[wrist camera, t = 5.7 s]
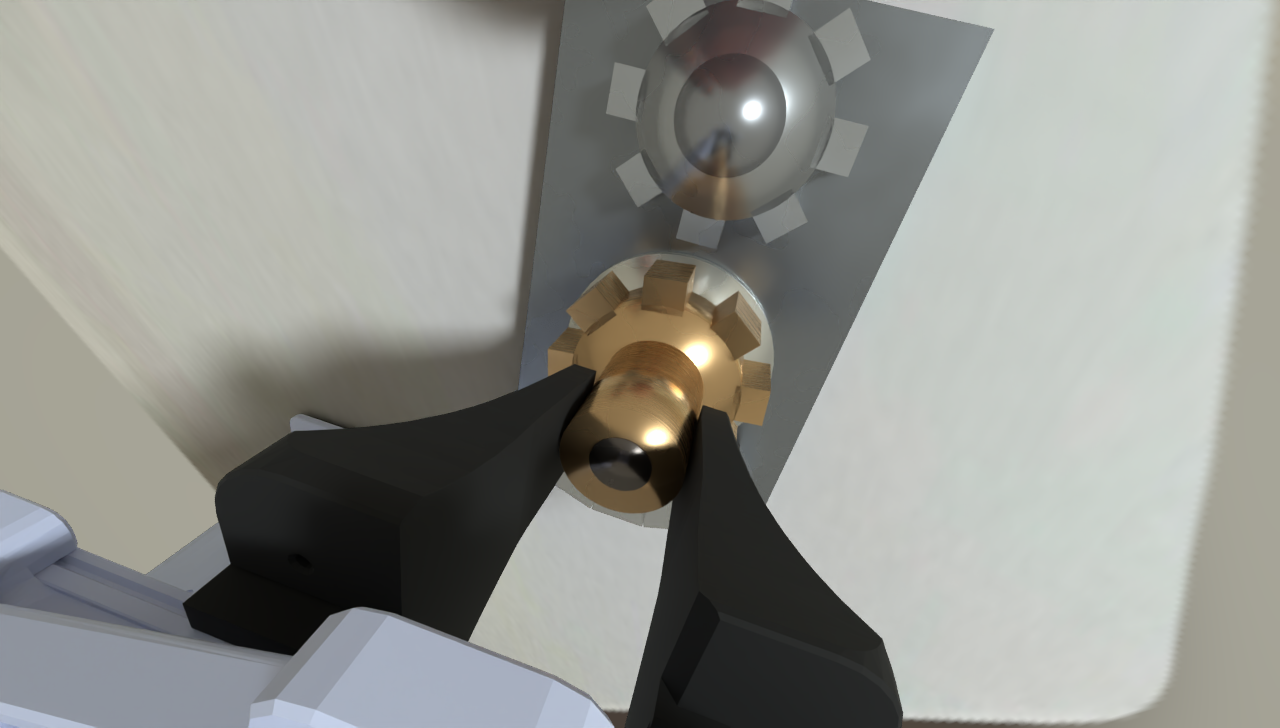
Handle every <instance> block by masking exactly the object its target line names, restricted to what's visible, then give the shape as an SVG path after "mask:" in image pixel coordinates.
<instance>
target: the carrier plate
mask: <svg viewBox="0 0 1280 728" xmlns="http://www.w3.org/2000/svg"><path fill="white" fill-rule="evenodd" d="M652 1H653V0H565V5H564V13H563V22H562V30H561V38H560V46H559V55H558V63H557V71H556V80H555V88H554V96H553V104H552V113H551V121H550V129H549V137H548V146H547V154H546V162H545V171H544V179H543V187H542V195H541V204H540V212H539V220H538V229H537V237H536V245H535V253H534V262H533V270H532V278H531V287H530V295H529V303H528V311H527V320H526V328H525V336H524V345H523V353H522V361H521V369H520V378H519V386H518V390H520V389H522V388H525V387H527V386H529V385H531V384H533V383H535V382H538V381H540V380H542V379H544V378H546V377H548V348H549V347H550V346H551V345H552V344H553V343H554V342H555V341H556V340H557V339H558V338H559V336H560V335H561V334H562V333H563V332H564V331H565V330H566V329H567V328H568V327H570V328H576V329H581V328H580V327H579V326H578V325H577V323H576V322H575V321H574V320H573V319H572V317H571V316H570V315H569V314H568V313H567V312H566V310H567V309H568V308H569V307H570V306H571V305H572V304H573V303H574V302H575V301H576V300H577V299H578V298H579V297H580V296H581V295H583V294H584V293H585V292H586V291H587V290H588V289H589V288H591V287H592V286H593V285H594V284H596V283H597V282H598V281H599V280H601V279H602V278H603V277H604V276H606V275H607V274H608V273H609V272H611V271H613V272H614V273H615V274H616V276H617V277H618V278H619V279H620V281H621V282H622V283H623V284H624V286H625V287H626V288H627V289H628V291H631V290H634V289H637V288H641V287H643V281H644V275H645V274H646V273H647V271H648V270H649V269H650V267H651V266H652V265H653V264H654V262H655V261H656V260H657V259H659V260H666V261H672V262H679V263H685V264H692V265H696V270H695V276H694V283H693V290H692V292H694V293H696V294H698V295H700V296H702V297H704V298H706V299H707V300H709V301H710V302H711V303H713V304H714V305H715V306H716V305H718V304H719V303H721V302H722V301H724V300H725V299H727V298H728V297H730V296H731V295H733V294H734V293H736V292H737V291H739V292H740V293H741V294H742V296H743V297H744V299H745V300H746V301H747V303H748V304H749V305H750V307H751V308H752V309H753V311H754V312H755V313H756V315H757V316H758V318H759V319H760V320H761V346H759V347H757V348H755V349H754V350H752V351H750V352H749V353H747V354H745V355H744V359H745V360H750V361H756V362H761V363H767V364H771V393H770V397H769V401H768V405H767V409H766V412H765V416H764V420H763V424H762V426H759V425H755V424H750V423H745V422H740V421H735V420H734V423H735V424H736V425H737V426H738V427H737V437H736V441H737V444H738V446H740V447H741V449H742V451H743V453H744V455H745V457H746V459H747V461H748V463H749V466H750V468H751V470H752V472H753V477H752V480H753V482H754V484H755V486H756V488H757V490H758V492H759V494H760V495H761V497H762V499H763V501H764V503H765V504H766V503H767V501H768V499H769V497H770V495H771V492H772V490H773V488H774V486H775V484H776V482H777V480H778V478H779V476H780V474H781V472H782V470H783V467H784V465H785V463H786V461H787V459H788V457H789V455H790V453H791V451H792V449H793V447H794V445H795V443H796V440H797V438H798V436H799V434H800V432H801V430H802V428H803V426H804V424H805V422H806V420H807V418H808V416H809V413H810V411H811V409H812V407H813V405H814V403H815V401H816V399H817V397H818V395H819V393H820V391H821V388H822V386H823V384H824V382H825V380H826V378H827V376H828V374H829V372H830V370H831V368H832V366H833V364H834V361H835V359H836V357H837V355H838V353H839V351H840V349H841V347H842V345H843V343H844V341H845V339H846V337H847V334H848V332H849V330H850V328H851V326H852V324H853V322H854V320H855V318H856V316H857V314H858V312H859V310H860V307H861V305H862V303H863V301H864V299H865V297H866V295H867V293H868V291H869V289H870V287H871V285H872V282H873V280H874V278H875V276H876V274H877V272H878V270H879V268H880V266H881V264H882V262H883V260H884V258H885V255H886V253H887V251H888V249H889V247H890V245H891V243H892V241H893V239H894V237H895V235H896V233H897V231H898V228H899V226H900V224H901V222H902V220H903V218H904V216H905V214H906V212H907V210H908V208H909V206H910V203H911V201H912V199H913V197H914V195H915V193H916V191H917V189H918V187H919V185H920V183H921V181H922V179H923V176H924V174H925V172H926V170H927V168H928V166H929V164H930V162H931V160H932V158H933V156H934V154H935V152H936V149H937V147H938V145H939V143H940V141H941V139H942V137H943V135H944V133H945V131H946V129H947V127H948V124H949V122H950V120H951V118H952V116H953V114H954V112H955V110H956V108H957V106H958V104H959V102H960V100H961V97H962V95H963V93H964V91H965V89H966V87H967V85H968V83H969V81H970V79H971V77H972V75H973V73H974V70H975V68H976V66H977V64H978V62H979V60H980V58H981V56H982V54H983V52H984V50H985V48H986V45H987V43H988V41H989V39H990V37H991V35H992V33H993V31H994V29H991V28H987V27H983V26H978V25H974V24H969V23H965V22H961V21H956V20H952V19H947V18H943V17H939V16H934V15H930V14H925V13H921V12H917V11H912V10H908V9H903V8H899V7H894V6H890V5H886V4H881V3H877V2H872V1H868V0H793V2H792V6H791V9H790V11H791V12H792V13H793V14H795V15H796V16H797V17H799V18H800V19H802V20H803V21H804V22H805V23H806V24H807V25H808V26H809V27H810V28H811V30H812V31H813V32H815V31H816V30H818V29H819V28H821V27H822V26H824V25H825V24H827V23H828V22H830V21H831V20H832V19H834V18H835V17H837V16H838V15H840V14H841V13H843V12H844V11H846V10H847V9H848V8H850V9H851V11H852V14H853V16H854V19H855V21H856V24H857V26H858V29H859V31H860V34H861V36H862V39H863V41H864V44H865V47H866V49H867V52H868V54H869V57H870V59H871V60H870V61H868V62H866V63H865V64H863V65H862V66H860V67H859V68H857V69H855V70H854V71H852V72H851V73H849V74H848V75H846V76H844V77H843V78H841V79H840V80H838V81H837V82H835V88H836V111H835V118H839V119H843V120H847V121H851V122H855V123H859V124H863V125H867V126H869V127H868V129H867V132H866V134H865V137H864V139H863V142H862V144H861V147H860V149H859V151H858V154H857V156H856V159H855V161H854V164H853V166H852V169H851V171H850V173H849V176H848V177H845V176H841V175H838V174H834V173H830V172H826V171H822V170H819V169H815V170H814V172H813V173H812V174H811V176H810V177H809V178H808V180H807V181H806V182H805V183H804V184H803V185H802V186H801V187H800V189H799V190H798V191H797V192H796V193H794V194H795V196H796V198H797V200H798V202H799V204H800V206H801V208H802V210H803V213H804V215H805V217H806V219H807V221H808V222H806V223H805V224H803V225H801V226H799V227H797V228H795V229H793V230H791V231H789V232H788V233H786V234H784V235H782V236H780V237H778V238H776V239H774V240H772V241H771V242H769V243H767V244H766V242H765V240H764V238H763V236H762V234H761V232H760V230H759V228H758V226H757V224H756V223H755V221H754V219H753V217H750V218H745V219H740V220H728V221H725V225H724V228H723V231H722V234H721V238H720V240H719V243H718V246H717V248H716V249H712V248H709V247H705V246H702V245H698V244H695V243H691V242H688V241H684V240H681V239H677V238H676V236H677V232H678V228H679V225H680V221H681V217H682V213H683V208H681V207H680V206H678V205H677V204H675V203H674V202H673V201H671V200H670V199H669V198H668V197H667V196H666V195H665V194H664V193H663V192H661V193H660V194H658V195H657V196H655V197H654V198H652V199H650V200H649V201H647V202H646V203H644V204H643V205H641V206H639V207H637V206H636V204H635V202H634V200H633V199H632V197H631V195H630V193H629V192H628V190H627V188H626V186H625V185H624V183H623V181H622V180H621V178H620V176H619V174H618V173H617V171H616V168H618V167H619V166H621V165H622V164H623V163H625V162H626V161H628V160H629V159H631V158H632V157H634V156H635V155H636V154H638V153H639V152H640V149H639V145H638V140H637V132H636V121H632V120H629V119H625V118H621V117H617V116H613V115H610V114H606V111H607V105H608V99H609V93H610V87H611V81H612V76H613V70H614V64H615V62H616V63H620V64H624V65H628V66H632V67H636V68H640V69H644V70H646V68H647V66H648V64H649V62H650V60H651V59H652V57H653V55H654V53H655V52H656V50H657V49H658V47H659V46H660V44H661V43H662V42H663V39H662V37H661V35H660V33H659V31H658V29H657V27H656V25H655V23H654V21H653V19H652V17H651V15H650V13H649V11H648V9H647V7H646V6H647V5H648V4H649V3H650V2H652ZM703 1H704V3H705V6H706V7H707V6H710V5H713V4H716V3H719V2H722V1H727V0H703ZM581 330H582V329H581Z"/></svg>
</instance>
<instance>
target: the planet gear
mask: <svg viewBox="0 0 1280 728" xmlns="http://www.w3.org/2000/svg"><path fill="white" fill-rule="evenodd" d="M695 270H696V265H692V264H685V263H679V262H672V261H666V260H659V259H657V260H656V261H655V262H654V264H653V265H652V266H651V267H650V269H649V270H648V271H647V273H646V274H645V275H644V281H643V287H641V288H637V289H634V290H631V291H628V289H627V288H626V287H625V286H624V284H623V283H622V282H621V281H620V279H619V278H618V277H617V276H616V274H615V273H614V272H613V271H611V272H609V273H608V274H607V275H606V276H604V277H603V278H602V279H601V280H599V281H598V282H597V283H596V284H594V285H593V286H592V287H591V288H589V289H588V290H587V291H586V292H585V293H584V294H583V295H581V296H580V297H579V298H578V299H577V300H576V301H575V302H574V303H573V304H572V305H571V306H570V307H569V308H568V309H567V310H566V312H567V313H568V314H569V315H570V316H571V317H572V319H573V320H574V321H575V322H576V323H577V325H578V326H579V327H580V328H581V329H582V330H581V329H576V328H570V327H568V328H567V329H566V330H565V331H564V332H563V333H562V334H561V335H560V336H559V338H558V339H557V340H556V341H555V342H554V343H553V344H552V345H551V346H550V347H549V348H548V376H550V375H552V374H554V373H556V372H558V371H560V370H562V369H565V368H567V367H569V366H571V365H573V364H576V365H579V366H583V367H586V368H589V369H592V370H595V371H596V376H595V381H594V386H593V387H592V389H591V391H590V392H589V394H588V395H587V397H586V398H585V400H584V402H583V403H582V405H581V406H580V408H579V409H578V411H577V412H576V414H575V416H574V417H573V419H572V420H571V422H570V423H569V425H568V427H567V428H566V430H565V431H564V433H563V435H562V438H561V442H560V449H559V452H560V460H561V464H562V467H563V470H564V472H565V474H566V475H567V477H568V479H569V480H570V482H571V483H572V484H573V485H574V486H575V488H576V489H577V490H578V491H579V492H581V493H582V494H583V495H584V496H585V497H587V498H588V499H590V500H591V501H593V502H594V503H596V504H598V505H600V506H602V507H605V508H607V509H610V510H614V511H617V512H622V513H632V514H634V513H647V512H651V511H655V510H657V509H660V508H662V507H664V506H666V505H667V504H668V503H670V502H671V501H672V500H673V499H674V498H675V497H676V496H677V495H678V493H679V492H680V490H681V488H682V485H683V482H684V478H685V474H686V469H687V465H688V461H689V456H690V452H691V447H692V442H693V437H694V433H695V429H696V424H697V420H698V417H699V414H700V412H701V409H702V406H703V405H705V406H708V407H711V408H714V409H717V410H721V411H724V412H727V414H728V416H729V419H730V423H731V426H732V429H733V433H734V436H735V438H736V437H737V427H738V426H737V425H736V424H735V423H734V420H735V421H740V422H745V423H750V424H755V425H759V426H762V424H763V420H764V416H765V412H766V409H767V405H768V401H769V397H770V393H771V364H767V363H761V362H756V361H750V360H745V359H744V355H745V354H747V353H749V352H750V351H752V350H754V349H755V348H757V347H759V346H761V320H760V319H759V318H758V316H757V315H756V313H755V312H754V311H753V309H752V308H751V307H750V305H749V304H748V303H747V301H746V300H745V299H744V297H743V296H742V294H741V293H740V292H739V291H737V292H736V293H734V294H733V295H731V296H730V297H728V298H727V299H725V300H724V301H722V302H721V303H719V304H718V305H716V306H715V305H714V304H713V303H711V302H710V301H709V300H707V299H706V298H704V297H702V296H700V295H698V294H696V293H694V292H692V290H693V283H694V276H695Z"/></svg>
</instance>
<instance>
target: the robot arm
mask: <svg viewBox="0 0 1280 728" xmlns="http://www.w3.org/2000/svg"><path fill="white" fill-rule="evenodd" d="M595 376H596V371H595V370H592V369H589V368H586V367H583V366H579V365H576V364H573V365H571V366H569V367H567V368H565V369H562V370H560V371H558V372H556V373H554V374H552V375H550V376H548V377H546V378H544V379H542V380H540V381H538V382H535V383H533V384H531V385H529V386H527V387H525V388H522V389H520V390H517V391H515V392H512V393H510V394H507V395H504V396H502V397H499V398H497V399H494V400H492V401H489V402H486V403H483V404H480V405H477V406H474V407H470V408H466V409H463V410H459V411H456V412H452V413H448V414H443V415H438V416H433V417H428V418H423V419H419V420H414V421H408V422H402V423H395V424H388V425H379V426H370V427H360V428H348V429H344V428H341V427H339V426H336V425H333V424H330V423H327V422H324V421H321V420H318V419H316V418H313V417H310V416H307V415H304V414H297V415H296V416H294V417H292V418H291V419H290V428H291V433H290V434H288V435H286V436H285V437H283V438H282V439H280V440H279V441H277V442H276V443H274V444H272V445H271V446H269V447H268V448H266V449H265V450H263V451H262V452H260V453H259V454H257V455H255V456H254V457H252V458H251V459H249V460H248V461H246V462H245V463H243V464H241V465H240V466H238V467H237V468H235V469H234V470H232V471H231V472H229V473H227V474H226V476H225V477H224V478H223V479H222V480H221V481H220V482H219V483H218V487H217V491H216V494H215V506H216V514H217V518H218V521H219V522H218V523H216V524H215V525H214V526H212V527H211V528H209V529H208V530H207V531H205V532H204V533H202V534H201V535H200V536H198V537H197V538H196V539H194V540H193V541H191V542H190V543H189V544H187V545H186V546H184V547H183V548H182V549H180V550H179V551H178V552H176V553H175V554H174V555H172V556H171V557H169V558H168V559H166V560H165V561H164V562H162V563H161V564H160V565H158V566H157V567H155V568H154V569H153V570H151V571H150V572H148V573H147V574H146V575H145V574H142V573H140V572H137V571H135V570H132V569H130V568H127V567H125V566H122V565H120V564H117V563H115V562H112V561H110V560H107V559H105V558H102V557H100V556H97V555H95V554H92V553H90V552H87V551H85V550H82V549H80V548H78V547H77V540H76V537H75V534H74V532H73V530H72V528H71V527H70V525H69V524H68V522H67V521H66V520H65V519H64V518H63V517H62V516H61V515H59V514H58V513H57V512H55V511H53V510H51V509H50V508H48V507H45V506H43V505H40V504H37V503H35V502H32V501H30V500H27V499H25V498H22V497H20V496H17V495H15V494H12V493H10V492H7V491H4V490H0V728H614V726H613V724H612V722H611V721H610V719H609V717H608V716H607V715H606V714H605V713H604V711H603V710H602V709H601V708H600V707H599V706H598V705H597V703H596V702H595V701H594V700H593V699H592V698H591V696H590V695H589V694H587V693H585V692H584V691H582V690H580V689H578V688H576V687H575V686H573V685H571V684H569V683H568V682H566V681H564V680H562V679H561V678H559V677H557V676H555V675H552V674H550V673H547V672H545V671H542V670H540V669H537V668H534V667H532V666H529V665H527V664H524V663H521V662H519V661H516V660H514V659H511V658H509V657H506V656H503V655H501V654H498V653H496V652H493V651H491V650H488V649H485V648H483V647H480V646H478V645H475V644H472V643H470V642H468V641H469V638H470V636H471V634H472V632H473V630H474V628H475V626H476V624H477V622H478V620H479V618H480V616H481V614H482V612H483V610H484V608H485V606H486V604H487V602H488V600H489V598H490V596H491V594H492V592H493V590H494V588H495V586H496V584H497V582H498V580H499V578H500V576H501V574H502V572H503V570H504V568H505V566H506V565H507V563H508V561H509V559H510V557H511V555H512V553H513V551H514V549H515V547H516V545H517V544H518V542H519V540H520V539H521V537H522V535H523V534H524V532H525V530H526V529H527V527H528V526H529V524H530V522H531V521H532V519H533V518H534V516H535V515H536V513H537V512H538V510H539V509H540V507H541V506H542V504H543V503H544V501H545V500H546V498H547V497H548V495H549V494H550V492H551V491H552V489H553V488H554V486H555V485H556V483H557V482H558V480H559V479H560V477H561V476H562V474H563V472H564V470H563V467H562V464H561V460H560V452H559V449H560V442H561V438H562V435H563V433H564V431H565V430H566V428H567V427H568V425H569V423H570V422H571V420H572V419H573V417H574V416H575V414H576V412H577V411H578V409H579V408H580V406H581V405H582V403H583V402H584V400H585V398H586V397H587V395H588V394H589V392H590V391H591V389H592V387H593V386H594V381H595ZM902 718H903V711H902V707H901V702H900V698H899V694H898V690H897V685H896V681H895V678H894V674H893V670H892V667H891V664H890V661H889V658H888V655H887V652H886V649H885V646H884V643H883V640H882V638H881V637H880V636H879V635H878V634H877V633H876V632H874V631H873V630H872V629H871V628H870V627H869V626H868V625H867V624H866V623H865V622H864V621H863V620H862V619H861V618H860V617H859V616H858V615H857V614H855V613H854V612H853V611H852V610H851V609H850V608H849V607H848V606H847V605H846V604H845V603H844V602H843V601H842V600H841V599H840V598H839V597H838V596H837V595H836V594H835V593H834V592H833V591H832V590H831V589H830V588H829V586H828V585H827V584H826V583H825V582H824V581H823V580H822V579H821V578H820V577H819V576H818V574H817V573H816V572H815V571H814V570H813V569H812V568H811V566H810V565H809V564H808V563H807V562H806V560H805V559H804V558H803V557H802V556H801V554H800V553H799V552H798V550H797V549H796V548H795V547H794V545H793V544H792V543H791V541H790V540H789V539H788V537H787V536H786V535H785V533H784V532H783V530H782V529H781V528H780V526H779V525H778V523H777V522H776V520H775V519H774V517H773V515H772V514H771V512H770V511H769V509H768V508H767V506H766V504H765V503H764V501H763V499H762V497H761V495H760V494H759V492H758V490H757V488H756V486H755V484H754V482H753V480H752V478H751V475H750V473H749V471H748V469H747V466H746V464H745V462H744V459H743V457H742V455H741V452H740V449H739V447H738V444H737V441H736V438H735V436H734V433H733V429H732V426H731V423H730V419H729V416H728V414H727V412H724V411H721V410H717V409H714V408H711V407H708V406H705V405H703V406H702V409H701V412H700V414H699V417H698V420H697V424H696V429H695V433H694V437H693V442H692V447H691V452H690V456H689V461H688V465H687V469H686V474H685V478H684V482H683V485H682V488H681V490H680V492H679V493H678V495H677V496H676V497H675V498H674V499H673V500H672V507H671V514H670V520H669V527H668V534H667V541H666V548H665V555H664V562H663V569H662V576H661V582H660V587H659V592H658V597H657V601H656V605H655V609H654V613H653V617H652V621H651V625H650V629H649V633H648V637H647V641H646V645H645V649H644V653H643V657H642V661H641V665H640V669H639V673H638V677H637V681H636V685H635V689H634V693H633V697H632V701H631V704H630V708H629V712H628V716H627V720H626V724H625V728H902Z"/></svg>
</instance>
